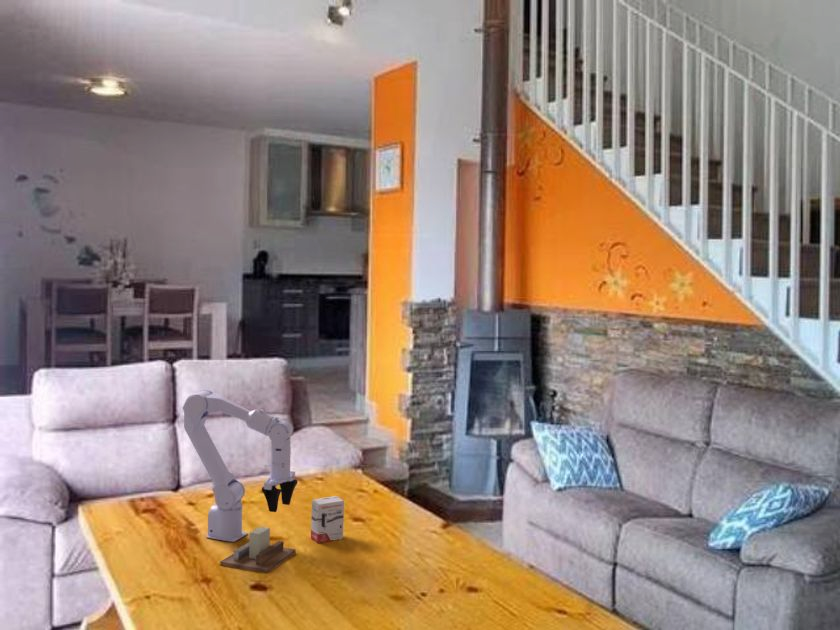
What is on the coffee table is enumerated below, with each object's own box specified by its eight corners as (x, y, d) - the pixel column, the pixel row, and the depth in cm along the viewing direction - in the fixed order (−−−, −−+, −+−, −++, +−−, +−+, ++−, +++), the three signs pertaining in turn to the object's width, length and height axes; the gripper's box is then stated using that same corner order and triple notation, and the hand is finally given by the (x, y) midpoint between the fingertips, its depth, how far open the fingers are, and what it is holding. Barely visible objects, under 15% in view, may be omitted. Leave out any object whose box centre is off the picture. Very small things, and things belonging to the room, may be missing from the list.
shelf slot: (220, 565, 208) (220, 552, 208) (251, 545, 223) (252, 533, 223) (266, 573, 203) (266, 560, 203) (295, 552, 218) (295, 540, 218)
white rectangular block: (249, 557, 211) (249, 532, 210) (259, 551, 216) (260, 526, 216) (258, 559, 210) (259, 534, 210) (269, 552, 215) (269, 528, 215)
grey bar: (233, 560, 209) (233, 551, 209) (256, 546, 220) (257, 537, 220) (238, 561, 208) (238, 552, 208) (261, 546, 220) (261, 538, 219)
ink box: (317, 543, 226) (318, 503, 226) (310, 538, 230) (311, 499, 230) (343, 538, 231) (344, 499, 230) (336, 533, 235) (337, 495, 234)
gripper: (279, 469, 219) (278, 516, 220) (304, 458, 233) (303, 502, 234) (258, 466, 222) (257, 513, 223) (283, 455, 235) (282, 499, 236)
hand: (279, 507), depth 228 cm, fingers open, 7 cm apart
